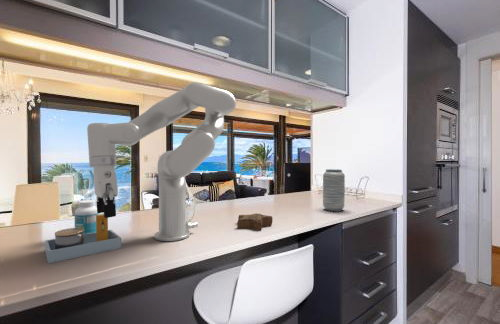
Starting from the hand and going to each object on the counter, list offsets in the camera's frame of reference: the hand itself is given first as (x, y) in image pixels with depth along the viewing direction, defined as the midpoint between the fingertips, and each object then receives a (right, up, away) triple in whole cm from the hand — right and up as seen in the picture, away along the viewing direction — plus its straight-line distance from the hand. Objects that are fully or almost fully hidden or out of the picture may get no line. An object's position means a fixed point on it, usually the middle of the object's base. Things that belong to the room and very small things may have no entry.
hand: (106, 214), depth 81 cm
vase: (+94, -10, +61) cm, 113 cm away
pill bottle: (-11, -11, +8) cm, 17 cm away
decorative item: (+48, -11, +27) cm, 56 cm away
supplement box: (-1, -10, 0) cm, 10 cm away
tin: (-7, -10, -6) cm, 14 cm away
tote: (-5, -11, -4) cm, 12 cm away
